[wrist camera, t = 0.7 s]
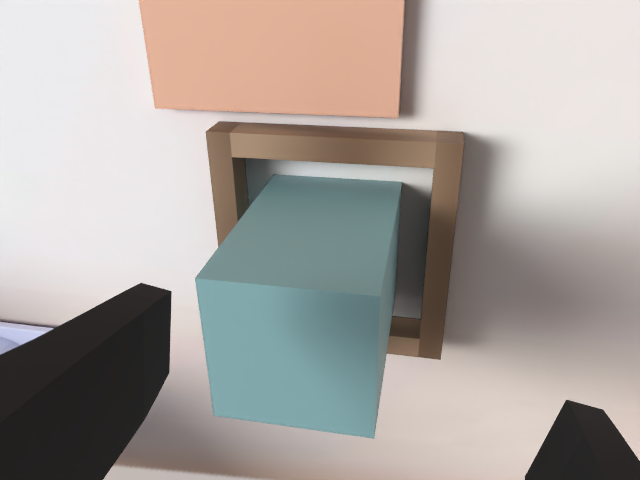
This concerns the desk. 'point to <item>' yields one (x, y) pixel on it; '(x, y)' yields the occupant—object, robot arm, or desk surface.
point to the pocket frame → (354, 148)
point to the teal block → (303, 304)
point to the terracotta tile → (276, 55)
